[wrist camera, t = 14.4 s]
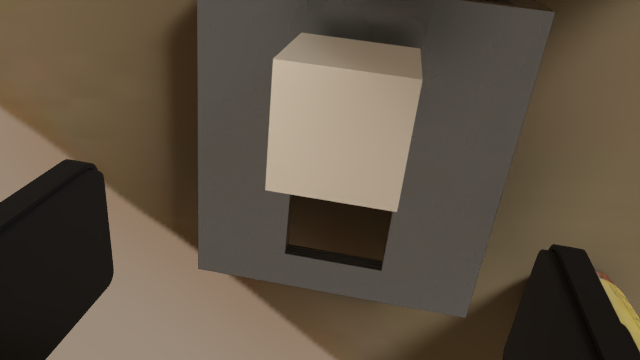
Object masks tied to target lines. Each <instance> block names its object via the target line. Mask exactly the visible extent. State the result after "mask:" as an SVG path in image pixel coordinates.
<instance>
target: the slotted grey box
mask: <svg viewBox="0 0 640 360" xmlns="http://www.w3.org/2000/svg"><path fill="white" fill-rule="evenodd" d="M554 16H555V12H554V11H552V10H551V9H549V8H547V7H545V6H544V5H542V4H540V3H538V2H537V1H535V0H497V2H489V1H481V0H197V71H198V268H199V269H203V270H208V271H214V272H219V273H224V274H230V275H235V276H240V277H246V278H251V279H257V280H262V281H268V282H273V283H278V284H284V285H289V286H295V287H300V288H305V289H311V290H316V291H322V292H327V293H333V294H338V295H343V296H349V297H354V298H360V299H365V300H370V301H376V302H381V303H387V304H392V305H398V306H403V307H408V308H414V309H419V310H425V311H430V312H435V313H441V314H446V315H452V316H457V317H463V318H466V315H467V312H468V308H469V305H470V301H471V298H472V295H473V291H474V288H475V284H476V281H477V278H478V274H479V271H480V267H481V264H482V261H483V257H484V254H485V250H486V247H487V244H488V240H489V237H490V233H491V230H492V227H493V223H494V220H495V216H496V213H497V210H498V206H499V203H500V199H501V196H502V193H503V189H504V186H505V182H506V179H507V176H508V172H509V169H510V165H511V162H512V159H513V155H514V152H515V148H516V145H517V142H518V138H519V135H520V131H521V128H522V125H523V121H524V118H525V114H526V111H527V108H528V104H529V101H530V97H531V94H532V91H533V87H534V84H535V80H536V77H537V74H538V70H539V67H540V63H541V60H542V57H543V53H544V50H545V46H546V43H547V40H548V36H549V33H550V29H551V26H552V23H553V19H554ZM300 33H309V34H316V35H324V36H331V37H338V38H346V39H353V40H361V41H368V42H376V43H383V44H390V45H398V46H405V47H413V48H420V49H421V63H422V78H423V80H422V86H421V91H420V96H419V101H418V106H417V111H416V117H415V122H414V127H413V132H412V137H411V142H410V148H409V153H408V158H407V163H406V168H405V174H404V179H403V184H402V189H401V194H400V199H399V205H398V210H397V212H393V211H392V213H391V218H390V224H389V229H388V234H387V239H386V245H385V250H384V255H383V261H380V260H374V259H369V258H363V257H357V256H352V255H346V254H340V253H335V252H329V251H324V250H318V249H312V248H307V247H301V246H295V245H290V244H289V234H290V223H291V211H292V200H293V195H291V194H285V193H279V192H273V191H267V190H265V184H266V167H267V151H268V134H269V117H270V101H271V84H272V67H273V58H274V57H275V56H277V55H278V54H279V53H280V52H281V51H282V50H283V49H284V48H285V47H286V46H287V45H288V44H290V43H291V42H292V41H293V40H294V39H295V38H296V37H297V36H298V35H299V34H300Z"/></svg>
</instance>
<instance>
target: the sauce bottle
mask: <svg viewBox="0 0 640 360" xmlns="http://www.w3.org/2000/svg"><path fill="white" fill-rule="evenodd" d="M595 271H596V273H597V275H598V277H599V279H600V281H601V283H602V285H603V287H604V289H605V291H606V293H607V295H608V297H609V299H610V301H611V303H612V305H613V307H614V309H615V311H616V313H617V315H618V317H619V320H620V322H621V323H622V324H623V325H625V326H626V327H627V329H628V330H629V332H630V333H631V335H632V337H633V339H634V341H635V343H636V345H637V347H638V349H639V351H640V318H639V317H638V315H637V314H636V312H635V311H634V309H633V308H632V306H631V305H630V303H629V302H628V300H627V299H626V297H625V296H624V294H623V293H622V292H621V291H620V290H619V289H618V288H617V287H616V286H615V285H614V283H613V282H612V280H611V279H610V278H609V277H608V276H607V275H605V274H604V273H602V272H599V271H597V270H595Z"/></svg>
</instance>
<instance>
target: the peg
mask: <svg viewBox="0 0 640 360" xmlns="http://www.w3.org/2000/svg"><path fill="white" fill-rule="evenodd" d="M422 80H423V78H422V63H421V49H420V48H413V47H405V46H398V45H390V44H383V43H376V42H368V41H361V40H353V39H346V38H338V37H331V36H324V35H316V34H309V33H300V34H299V35H298V36H297V37H296V38H295V39H294V40H293V41H292V42H291V43H290V44H288V45H287V46H286V47H285V48H284V49H283V50H282V51H281V52H280V53H279V54H278V55H277V56H275V57H274V58H273V67H272V84H271V101H270V117H269V134H268V151H267V167H266V184H265V190H267V191H273V192H279V193H285V194H291V195H297V196H303V197H309V198H315V199H321V200H327V201H333V202H339V203H345V204H351V205H357V206H363V207H369V208H375V209H381V210H387V211H393V212H397V210H398V205H399V199H400V194H401V189H402V184H403V179H404V174H405V168H406V163H407V158H408V153H409V148H410V142H411V137H412V132H413V127H414V122H415V117H416V111H417V106H418V101H419V96H420V91H421V86H422Z"/></svg>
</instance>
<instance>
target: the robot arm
mask: <svg viewBox="0 0 640 360" xmlns="http://www.w3.org/2000/svg"><path fill="white" fill-rule="evenodd" d="M112 277H113V260H112V250H111V241H110V232H109V222H108V212H107V202H106V193H105V183H104V177H103V174H102V173H101V172H100V171H98V170H97V168H96V166H95V165H94V164H92V163H86V162H81V161H75V160H68V159H66V160H64V161H62V162H60V163H59V164H57V165H56V166H54V167H53V168H51V169H50V170H48V171H47V172H45V173H44V174H42V175H41V176H39V177H38V178H36V179H35V180H33V181H32V182H30V183H29V184H27V185H26V186H24V187H23V188H21V189H20V190H19V191H17V192H15V193H14V194H12V195H11V196H10V197H8V198H7V199H5V200H4V201H2V202H0V360H45V359H46V358H47V357H48V356H49V355H50V354H51V352H52V351H53V350H54V349H55V348H56V347H57V346H58V344H59V343H60V342H61V341H62V340H63V338H64V337H65V336H66V335H67V334H68V333H69V332H70V330H71V329H72V328H73V327H74V326H75V324H76V323H77V322H78V321H79V320H80V319H81V318H82V316H83V315H84V314H85V313H86V312H87V311H88V309H89V308H90V307H91V306H92V305H93V304H94V303H95V301H96V300H97V299H98V298H99V297H100V296H101V294H102V293H103V292H104V291H105V290H106V289H107V287H108V286H109V285H110V283H111V281H112ZM503 360H640V351H639V349H638V347H637V345H636V343H635V341H634V339H633V337H632V335H631V333H630V332H629V330H628V329H627V327H626V326H625V325H623V324H622V323H621V322H620V320H619V317H618V315H617V313H616V311H615V309H614V307H613V305H612V303H611V301H610V299H609V297H608V295H607V293H606V291H605V289H604V287H603V285H602V283H601V281H600V279H599V277H598V275H597V273H596V271H595V269H594V267H593V265H592V263H591V261H590V259H589V257H588V255H587V253H586V252H585V250H583V249H578V248H572V247H567V246H561V245H555V244H553V245H552V246H551V247H550V248H549V250H540V252H539V253H538V255H537V258H536V261H535V264H534V266H533V269H532V272H531V275H530V278H529V280H528V283H527V286H526V289H525V292H524V294H523V297H522V300H521V303H520V306H519V308H518V311H517V314H516V317H515V320H514V322H513V325H512V328H511V331H510V334H509V336H508V339H507V342H506V345H505V348H504V353H503Z"/></svg>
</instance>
